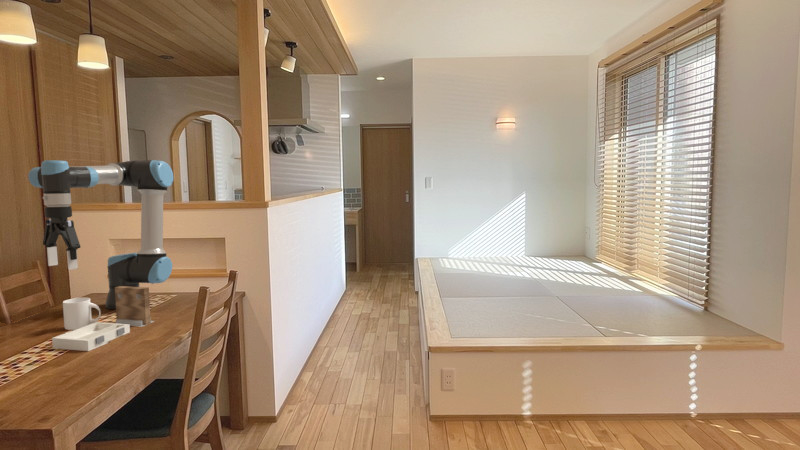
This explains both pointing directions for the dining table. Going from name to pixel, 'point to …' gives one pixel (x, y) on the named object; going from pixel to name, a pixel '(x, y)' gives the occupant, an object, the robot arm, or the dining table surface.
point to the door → (133, 303)
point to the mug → (78, 313)
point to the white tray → (90, 336)
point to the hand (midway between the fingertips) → (62, 267)
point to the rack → (131, 322)
